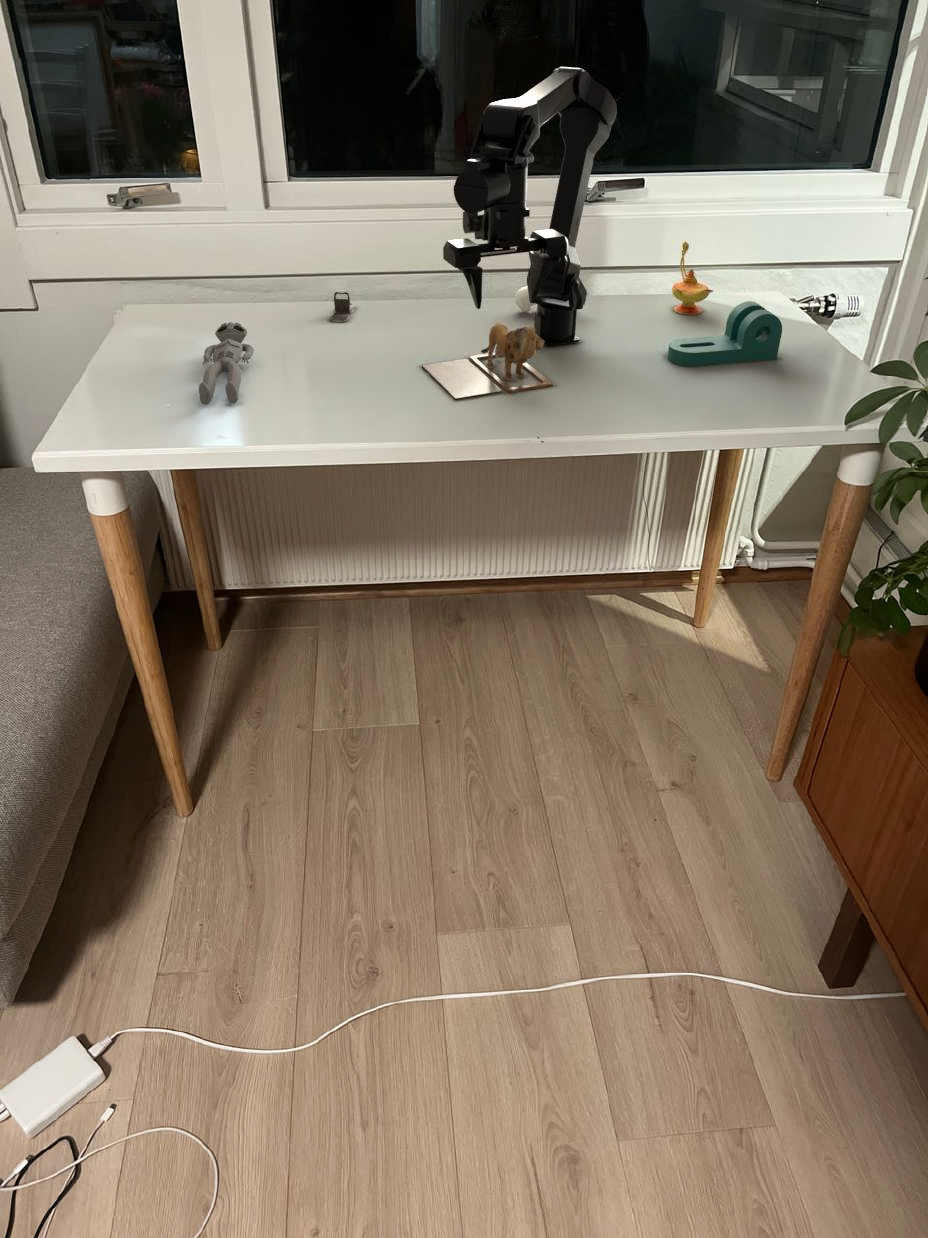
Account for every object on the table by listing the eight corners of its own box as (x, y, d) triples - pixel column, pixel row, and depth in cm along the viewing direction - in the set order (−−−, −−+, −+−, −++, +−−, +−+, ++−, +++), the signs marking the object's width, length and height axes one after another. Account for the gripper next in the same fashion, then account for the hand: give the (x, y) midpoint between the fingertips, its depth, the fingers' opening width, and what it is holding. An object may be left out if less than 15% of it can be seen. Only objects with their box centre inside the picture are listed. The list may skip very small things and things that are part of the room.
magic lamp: (686, 329, 175) (695, 267, 168) (659, 298, 189) (666, 240, 183) (723, 328, 175) (733, 266, 169) (693, 297, 190) (701, 239, 183)
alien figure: (187, 381, 144) (207, 319, 164) (193, 411, 147) (212, 346, 167) (242, 379, 145) (255, 317, 164) (246, 409, 148) (258, 345, 167)
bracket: (758, 345, 168) (766, 299, 164) (776, 358, 163) (785, 312, 158) (661, 352, 165) (667, 306, 161) (676, 367, 160) (682, 319, 155)
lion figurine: (545, 382, 155) (550, 328, 149) (518, 389, 152) (522, 334, 147) (493, 351, 164) (495, 299, 159) (467, 358, 162) (468, 304, 156)
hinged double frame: (511, 352, 165) (511, 349, 165) (552, 385, 153) (552, 383, 153) (420, 365, 160) (420, 363, 160) (456, 401, 148) (456, 398, 148)
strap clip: (339, 307, 185) (338, 284, 183) (355, 307, 185) (353, 284, 182) (330, 321, 178) (328, 298, 176) (346, 322, 178) (344, 298, 175)
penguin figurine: (580, 268, 175) (514, 275, 176) (581, 315, 180) (517, 321, 181) (576, 258, 180) (512, 265, 181) (577, 304, 185) (515, 310, 186)
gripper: (540, 182, 152) (536, 283, 161) (429, 193, 146) (431, 296, 155) (573, 198, 143) (566, 303, 153) (456, 209, 138) (456, 318, 147)
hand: (504, 304), depth 152 cm, fingers open, 9 cm apart
